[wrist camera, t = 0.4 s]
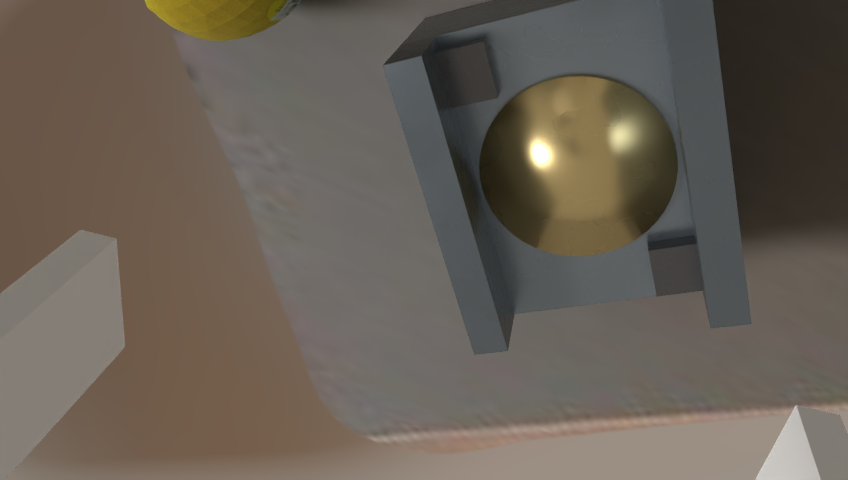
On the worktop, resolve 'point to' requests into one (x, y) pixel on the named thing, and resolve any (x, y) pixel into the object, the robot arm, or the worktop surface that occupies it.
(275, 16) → the lemon
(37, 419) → the robot arm
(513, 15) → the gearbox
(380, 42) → the worktop surface
